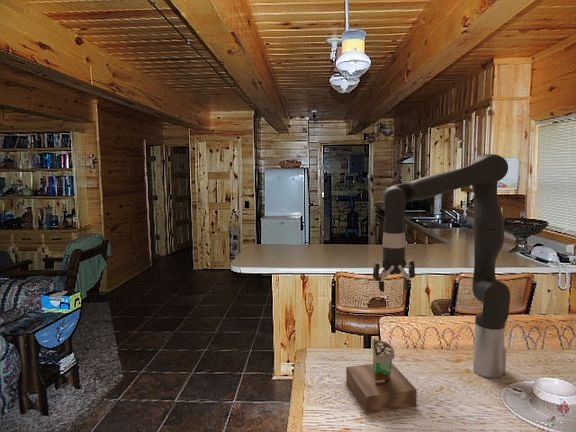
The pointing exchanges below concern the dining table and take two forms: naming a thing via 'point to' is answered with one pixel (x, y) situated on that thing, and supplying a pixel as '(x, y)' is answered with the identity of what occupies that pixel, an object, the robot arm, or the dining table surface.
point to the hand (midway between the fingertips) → (393, 290)
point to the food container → (382, 361)
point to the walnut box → (380, 389)
